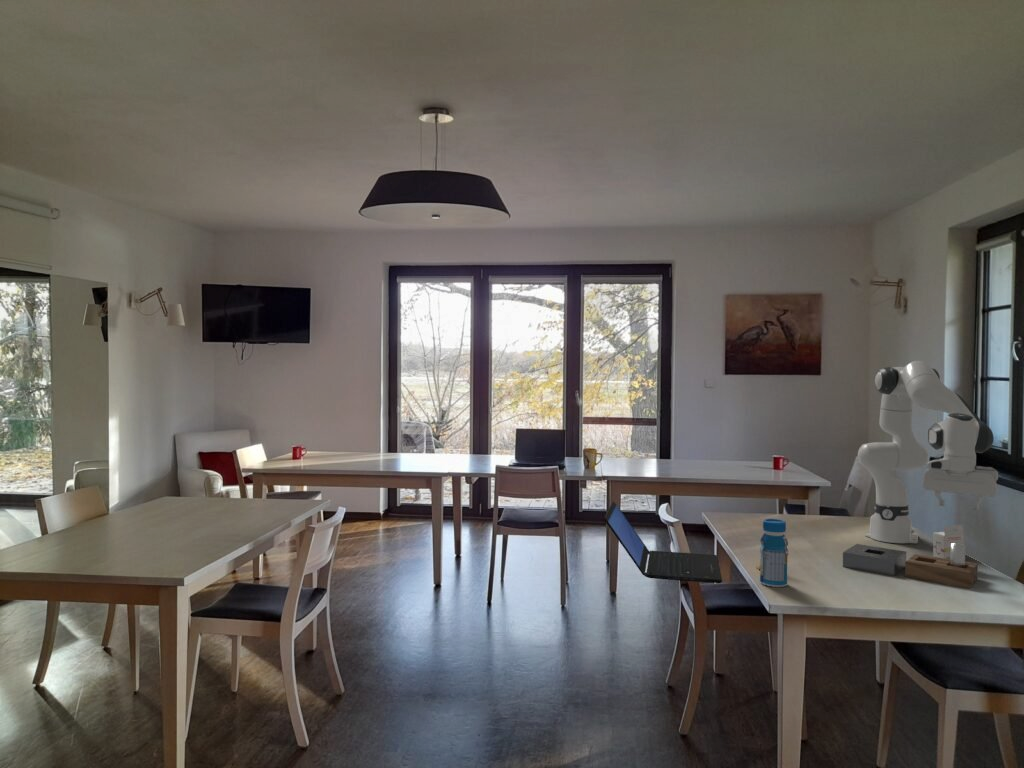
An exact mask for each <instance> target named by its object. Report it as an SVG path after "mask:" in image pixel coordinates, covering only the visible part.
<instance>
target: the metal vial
mask: <svg viewBox="0 0 1024 768" xmlns="http://www.w3.org/2000/svg"><path fill="white" fill-rule="evenodd" d="M965 562H966V544H965V542H964V543H959V542H951V548H950V566H953V567H959V568H965Z"/></svg>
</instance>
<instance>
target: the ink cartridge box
mask: <svg viewBox="0 0 1024 768" xmlns="http://www.w3.org/2000/svg"><path fill="white" fill-rule="evenodd" d="M943 528H944V530H943V531H939V532H938V531H937V532H936V531H935V532H933V533H932V534H933V535H932V543H933V544H932V548H933V550H932V551H933V552H932V556H933V557H940V558H946V559H950V548H951V542H959V543H964V544H965V534H964V525H963V524H961V525H946V526H944V527H943ZM953 529H954V530H953Z"/></svg>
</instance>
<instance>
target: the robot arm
mask: <svg viewBox="0 0 1024 768" xmlns="http://www.w3.org/2000/svg"><path fill="white" fill-rule="evenodd" d="M940 377H941V376H940V374H939V371H938V370H937V369H936V368H933V367H932V366H930V364H929V363H927V362H925V361H923V360H913V361H911V362H909V363H907V364H906V365H905V366H894V367H893V366H892V367H891V366H886V367H882V368H880V369H878V371H877V372H876V374H875V378H874V384H875V388H876V390H877V392H879V393H880V394H882V395H881V400H880V410H879V411H880V412H879V422H878V423H879V426H880V429H881V431H883V432H885V433H887V434H889V435H891V436H892V442H891V441H887V442H885V441H881V442H880V441H876V442H875V441H874V442H868V443H863V444H862V445H861V446H860V447H859V448H858V451H857V460H858V462H859V464H860V465H861V467H863V468H864V469H866V470H867V472H868V473H870V475H871V477H872V479H873V481H874V484H875V485H874V486H875V503H874V514H872V515H871V516H870V521H869V532H866V533H865V537H868V538H871V539H872V540H875V541H878V542H883V543H884V542H885V543H890V544H918V542H919V534H918V533H915V530H914V529H913V523H912V519H911V518H910V516H909V515H910V508H909V504H908V486H907V484H906V483H905V482H903V481H902V480H900V479H898V478H896V477H895V476H894V471H913V470H918V469H919V470H920V469H923V468H924V467H925V466H926V465H927V469H926V470H925V471H924V473H923V478H922V488H923V490H925V491H931V492H934V495H935V497H936V498H937V501H938V506H943V507H944V506H945V505H946V500H945V499H943V498H942V497H941V495H942V493H948V494H949V493H951V494H958V495H959V494H960V495H967V496H976V498H977V500H978V501H977V502H974V503H973V504H972V510H975V511H977V510H978V511H979V510H980V504H981V503H982V501H983V500H984V497H987V498H994V497H996V495H998V484H997V481H998V480H999V471H998V470H997V469H995V468H993V467H991V466H982V465H977V453H978V454H983V453H984V452H986V451H988V450H989V449H990V448H991V447H992V446H993V444H994V441H995V440H994V433H993V431H992V429H991V428H990V427H989V425H988V424H986V423H985V422H984V421H983V420H982V419H981V418H980V417H979V416H978V415H977V414H976V413H975V411H973V409H972V408H971V406H969V404H968V403H967V401H965V399H964V398H963V397H962V396H961V395H960V394H958V393H957V392H955V391H953V390H951V389H950V388H949V387H947V386H946V385H945V384H944V383H943V382H942V381H941V378H940ZM913 403H914V404H915V405H916V406H918V407H920V408H922V409H928V410H932V411H939V412H942V413H945V414H947V415H946V417H945V419H944V420H942V421H940V422H935V423H933V424H932V425H931V426H930V427H929V429H928V431H927V441H928V442H927V443H928V444H929V445H930V446H931V447H932V448H933V449H934V450H936V451H940V452H941V451H942V452H943V457H942V458H937V459H933V460H929V455H928V451H927V449H926V448H925V447H924V445H922V444H921V443H919V441H917V438H915V435H914V432H913V429H912V415H913Z"/></svg>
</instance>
